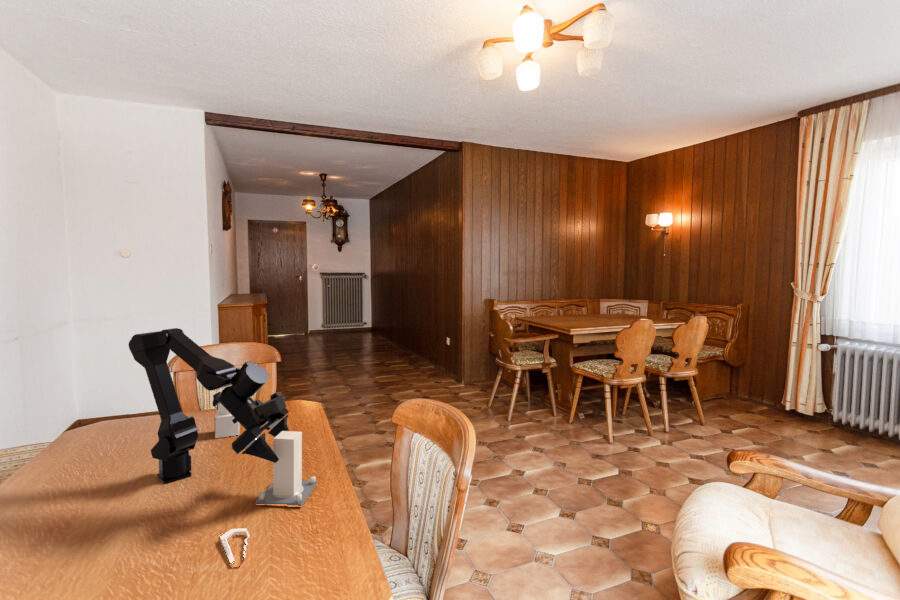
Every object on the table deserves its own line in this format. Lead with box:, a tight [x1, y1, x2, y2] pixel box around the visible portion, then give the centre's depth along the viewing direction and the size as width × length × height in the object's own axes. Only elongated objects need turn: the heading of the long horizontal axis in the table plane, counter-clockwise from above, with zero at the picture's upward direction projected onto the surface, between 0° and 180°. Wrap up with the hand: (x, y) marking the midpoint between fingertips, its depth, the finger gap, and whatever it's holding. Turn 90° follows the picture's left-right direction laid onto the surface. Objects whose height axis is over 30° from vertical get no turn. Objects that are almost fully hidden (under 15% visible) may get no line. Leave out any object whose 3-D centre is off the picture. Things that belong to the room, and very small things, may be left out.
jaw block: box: [272, 430, 303, 496], centre depth 109 cm, size 5×5×14 cm
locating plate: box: [255, 475, 319, 506], centre depth 110 cm, size 11×11×2 cm
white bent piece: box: [219, 527, 251, 564], centre depth 89 cm, size 13×5×2 cm, turn 38°
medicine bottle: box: [214, 403, 240, 439], centre depth 147 cm, size 7×7×12 cm
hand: (285, 453), depth 109 cm, fingers open, 9 cm apart
